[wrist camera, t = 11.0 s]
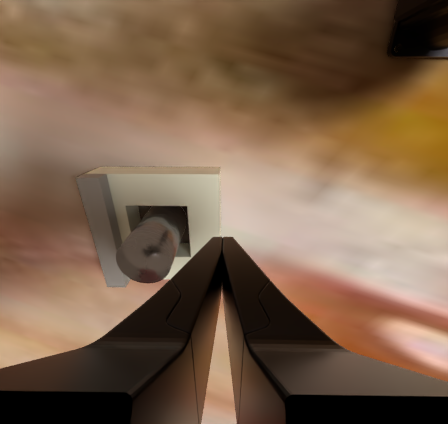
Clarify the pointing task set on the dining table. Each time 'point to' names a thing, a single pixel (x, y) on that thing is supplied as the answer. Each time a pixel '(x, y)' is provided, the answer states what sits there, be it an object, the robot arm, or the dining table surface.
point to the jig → (148, 196)
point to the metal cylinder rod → (152, 244)
